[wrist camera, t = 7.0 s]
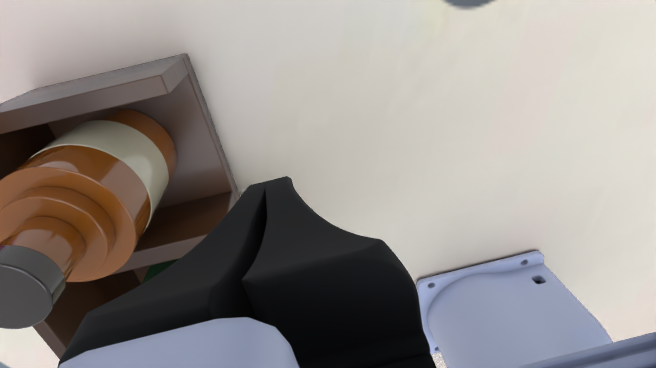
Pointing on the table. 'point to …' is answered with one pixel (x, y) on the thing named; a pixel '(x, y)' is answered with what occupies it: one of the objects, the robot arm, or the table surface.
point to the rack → (182, 192)
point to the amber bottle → (79, 209)
